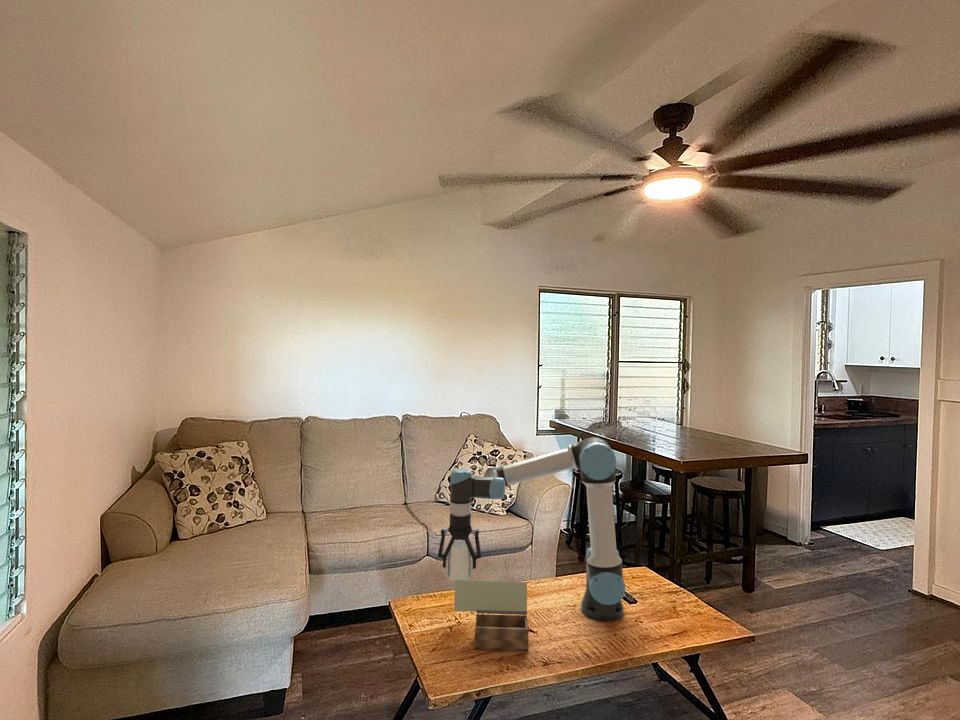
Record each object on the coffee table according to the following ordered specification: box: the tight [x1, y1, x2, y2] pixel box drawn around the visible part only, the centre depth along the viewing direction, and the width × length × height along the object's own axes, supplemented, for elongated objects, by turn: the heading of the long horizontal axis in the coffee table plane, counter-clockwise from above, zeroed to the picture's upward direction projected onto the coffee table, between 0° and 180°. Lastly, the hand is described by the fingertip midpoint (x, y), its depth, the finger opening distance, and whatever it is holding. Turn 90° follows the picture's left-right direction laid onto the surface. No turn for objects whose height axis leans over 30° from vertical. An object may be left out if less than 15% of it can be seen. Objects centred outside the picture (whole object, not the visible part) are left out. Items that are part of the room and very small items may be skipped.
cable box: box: [474, 613, 529, 652], centre depth 172 cm, size 17×9×7 cm, turn 88°
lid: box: [453, 579, 528, 616], centre depth 180 cm, size 24×10×2 cm
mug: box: [447, 540, 472, 583], centre depth 189 cm, size 12×8×12 cm
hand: (459, 576), depth 189 cm, fingers closed on mug, 8 cm apart
